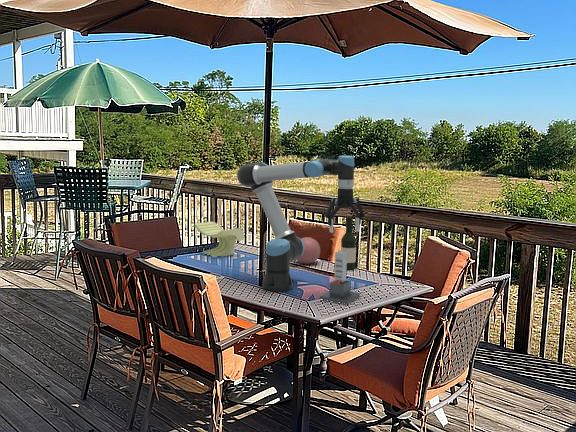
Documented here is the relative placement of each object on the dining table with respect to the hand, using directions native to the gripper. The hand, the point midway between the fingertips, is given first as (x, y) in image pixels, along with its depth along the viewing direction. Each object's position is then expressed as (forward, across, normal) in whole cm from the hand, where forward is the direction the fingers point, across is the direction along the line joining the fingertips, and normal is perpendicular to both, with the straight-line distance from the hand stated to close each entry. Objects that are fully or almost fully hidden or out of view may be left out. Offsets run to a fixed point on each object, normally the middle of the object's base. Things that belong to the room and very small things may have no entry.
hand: (344, 231), depth 284 cm
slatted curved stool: (+29, -42, +94) cm, 106 cm away
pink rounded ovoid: (+28, 0, +54) cm, 61 cm away
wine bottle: (+28, +20, +38) cm, 51 cm away
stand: (+29, -7, -14) cm, 33 cm away
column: (+27, -8, -14) cm, 31 cm away
